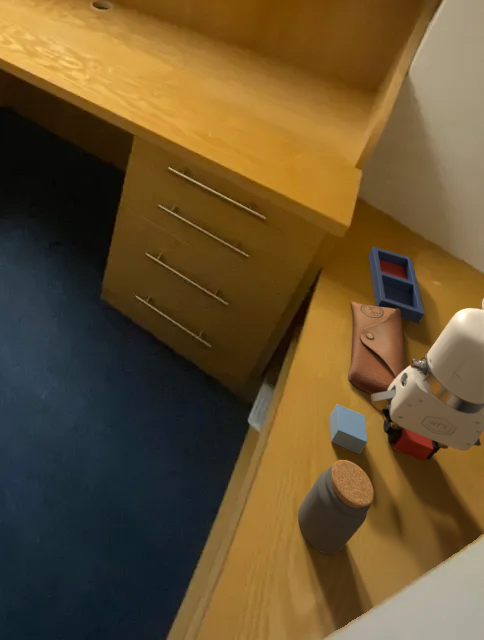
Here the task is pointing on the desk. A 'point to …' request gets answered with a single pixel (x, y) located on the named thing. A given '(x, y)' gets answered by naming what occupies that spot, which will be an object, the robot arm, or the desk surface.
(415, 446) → the red block
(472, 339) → the robot arm
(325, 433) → the desk surface
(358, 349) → the sunglasses case
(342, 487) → the bottle
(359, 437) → the blue block
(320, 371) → the desk surface
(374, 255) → the tray
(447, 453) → the desk surface
